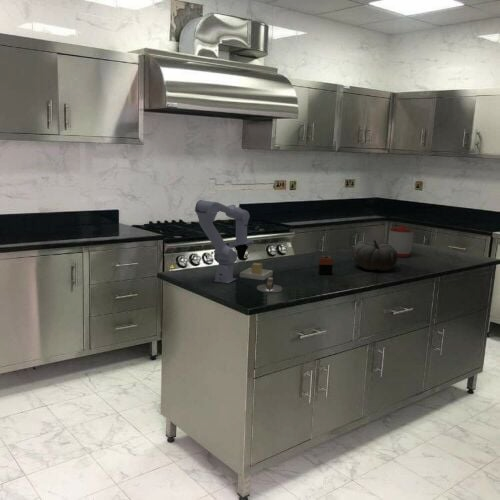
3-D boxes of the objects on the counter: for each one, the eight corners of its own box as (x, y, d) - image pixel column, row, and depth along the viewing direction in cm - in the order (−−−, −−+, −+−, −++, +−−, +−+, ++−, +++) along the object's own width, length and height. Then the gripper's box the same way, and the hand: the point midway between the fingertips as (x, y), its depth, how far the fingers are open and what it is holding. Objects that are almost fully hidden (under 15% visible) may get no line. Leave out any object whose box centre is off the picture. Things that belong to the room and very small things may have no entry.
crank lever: (272, 289, 252) (273, 282, 251) (265, 288, 252) (266, 282, 252) (273, 281, 267) (274, 274, 266) (267, 280, 267) (267, 274, 267)
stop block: (258, 276, 278) (259, 265, 277) (251, 275, 279) (252, 264, 278) (261, 275, 281) (262, 263, 280) (254, 274, 283) (255, 262, 282)
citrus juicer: (419, 258, 344) (422, 226, 341) (394, 258, 340) (397, 226, 336) (406, 253, 359) (409, 223, 356) (382, 253, 355) (385, 223, 351)
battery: (318, 273, 293) (319, 255, 291) (330, 273, 293) (331, 255, 291) (319, 275, 289) (320, 256, 287) (332, 275, 289) (333, 257, 287)
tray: (263, 280, 272) (263, 275, 272) (239, 277, 277) (239, 272, 277) (272, 275, 284) (272, 270, 283) (249, 272, 289) (249, 267, 288)
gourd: (342, 259, 316) (350, 231, 312) (377, 265, 326) (386, 237, 322) (363, 274, 294) (372, 243, 290) (401, 279, 303) (410, 250, 299)
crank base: (277, 293, 249) (277, 291, 249) (253, 290, 253) (253, 288, 253) (285, 287, 260) (285, 286, 260) (262, 284, 264) (262, 282, 264)
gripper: (235, 236, 266) (235, 263, 269) (257, 232, 275) (257, 258, 278) (226, 233, 271) (226, 260, 274) (248, 230, 280) (248, 256, 283)
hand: (241, 259), depth 277 cm, fingers closed
